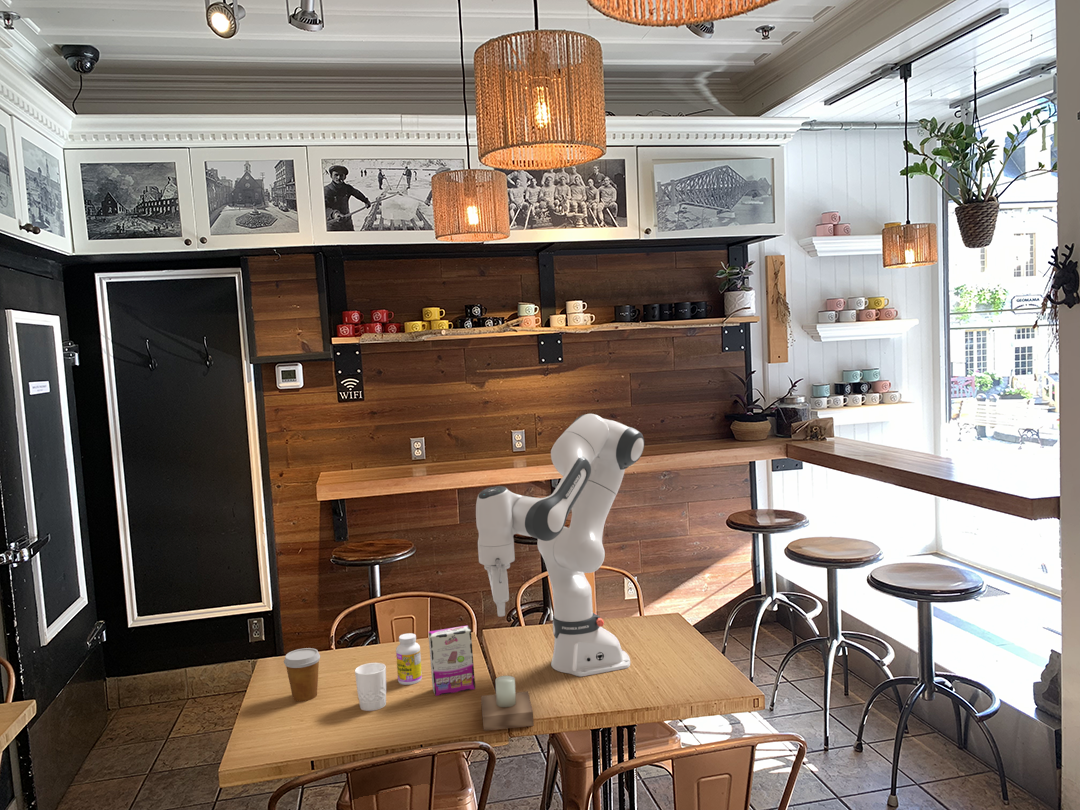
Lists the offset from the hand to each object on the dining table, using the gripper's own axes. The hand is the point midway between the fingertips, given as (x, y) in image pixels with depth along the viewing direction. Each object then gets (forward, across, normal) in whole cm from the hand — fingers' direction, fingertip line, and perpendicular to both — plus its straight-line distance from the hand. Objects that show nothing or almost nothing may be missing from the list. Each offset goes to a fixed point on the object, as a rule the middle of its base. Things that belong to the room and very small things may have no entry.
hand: (500, 609), depth 200 cm
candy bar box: (+27, +20, +13) cm, 36 cm away
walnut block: (+28, 0, 0) cm, 28 cm away
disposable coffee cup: (+27, +25, +53) cm, 64 cm away
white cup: (+27, +15, +34) cm, 46 cm away
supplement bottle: (+27, +29, +25) cm, 47 cm away
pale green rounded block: (+24, 0, 0) cm, 24 cm away
